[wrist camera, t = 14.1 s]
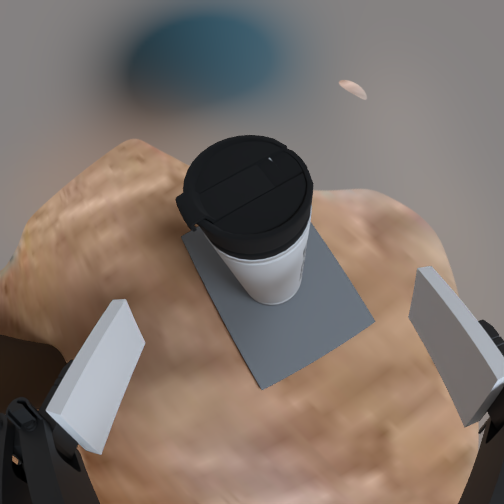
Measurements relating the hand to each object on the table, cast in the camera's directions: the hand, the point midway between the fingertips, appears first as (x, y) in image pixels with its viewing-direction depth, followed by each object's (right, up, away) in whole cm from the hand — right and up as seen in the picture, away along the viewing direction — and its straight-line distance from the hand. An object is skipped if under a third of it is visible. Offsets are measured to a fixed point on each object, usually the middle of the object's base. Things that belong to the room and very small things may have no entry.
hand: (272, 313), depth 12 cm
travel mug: (+1, 0, +20) cm, 20 cm away
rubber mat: (+1, 0, +20) cm, 20 cm away
